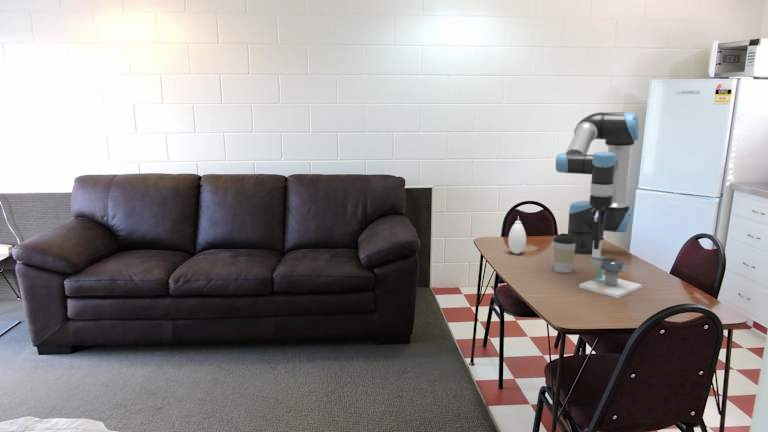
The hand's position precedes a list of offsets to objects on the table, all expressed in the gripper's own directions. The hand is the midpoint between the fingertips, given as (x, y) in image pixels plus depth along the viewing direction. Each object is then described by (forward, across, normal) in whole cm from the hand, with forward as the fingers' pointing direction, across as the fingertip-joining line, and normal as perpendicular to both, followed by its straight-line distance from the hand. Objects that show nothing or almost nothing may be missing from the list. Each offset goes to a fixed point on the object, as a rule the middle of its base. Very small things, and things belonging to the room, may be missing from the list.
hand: (596, 256), depth 198 cm
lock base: (+12, +2, -6) cm, 13 cm away
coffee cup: (+12, +14, +16) cm, 24 cm away
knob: (+5, +3, -4) cm, 7 cm away
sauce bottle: (+13, +28, +40) cm, 51 cm away
